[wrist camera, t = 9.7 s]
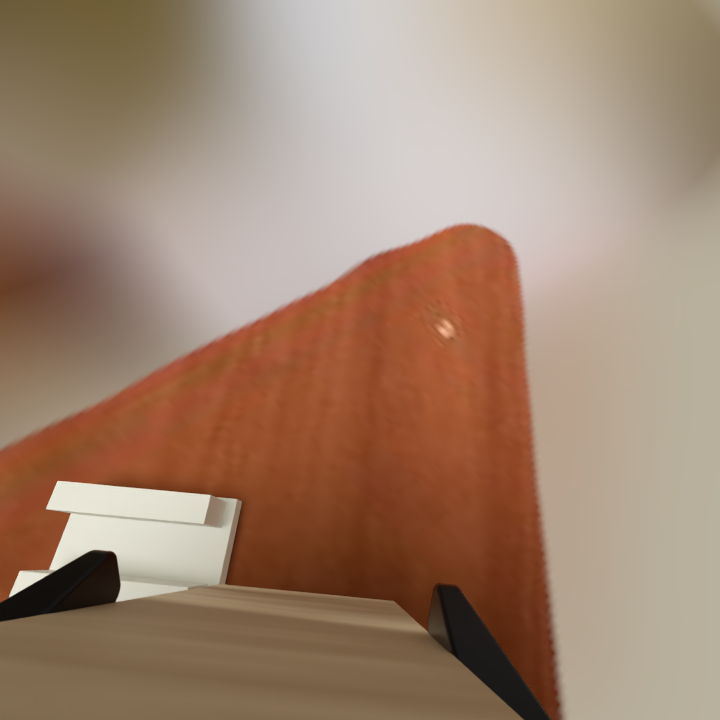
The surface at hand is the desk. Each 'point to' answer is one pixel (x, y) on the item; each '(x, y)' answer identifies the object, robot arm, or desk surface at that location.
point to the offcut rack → (145, 536)
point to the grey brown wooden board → (235, 661)
